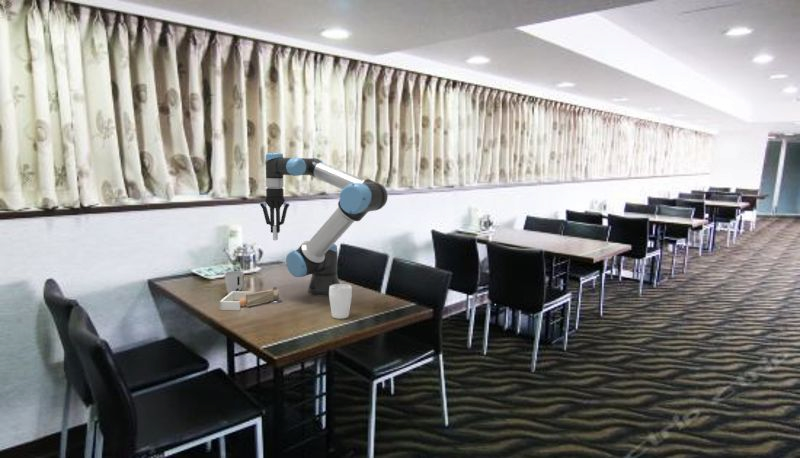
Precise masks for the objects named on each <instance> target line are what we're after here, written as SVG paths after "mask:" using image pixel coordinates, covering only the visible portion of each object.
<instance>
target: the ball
mask: <svg viewBox="0 0 800 458" xmlns="http://www.w3.org/2000/svg"><path fill="white" fill-rule="evenodd" d="M237 301H240V308H243V307H245V306H247V305H246V299H245V298H240V299H239V300H237Z"/></svg>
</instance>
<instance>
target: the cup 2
mask: <svg viewBox="0 0 800 458" xmlns="http://www.w3.org/2000/svg"><path fill="white" fill-rule="evenodd" d="M328 297H329V298H328V299H329V305H330V306H329V307H330V311H331V317H332V318H334V319H338V320H340V319H341V320H342V319H347V318H349V317H350V309H351V303H352V297H353V286H352V285H351V284H347V283H340V284H334V285H331V286H330V287H329V296H328Z"/></svg>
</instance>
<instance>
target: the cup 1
mask: <svg viewBox="0 0 800 458" xmlns="http://www.w3.org/2000/svg"><path fill="white" fill-rule="evenodd" d="M244 276H245V272H244V271H242V270H241V271H240V270H232V271H231V270H230V271H227V272H224V282H225V288H226V292H227V295H228V294H229V293H230V292H232V291H241V292H243V288H244V287H243V286H244V280H245V279H244Z"/></svg>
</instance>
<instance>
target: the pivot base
mask: <svg viewBox="0 0 800 458" xmlns="http://www.w3.org/2000/svg"><path fill="white" fill-rule="evenodd" d="M281 302H283V299H282V298H280V297H279V299H278V300H272V301H268V302H267V303H270V304H279V303H281Z"/></svg>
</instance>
